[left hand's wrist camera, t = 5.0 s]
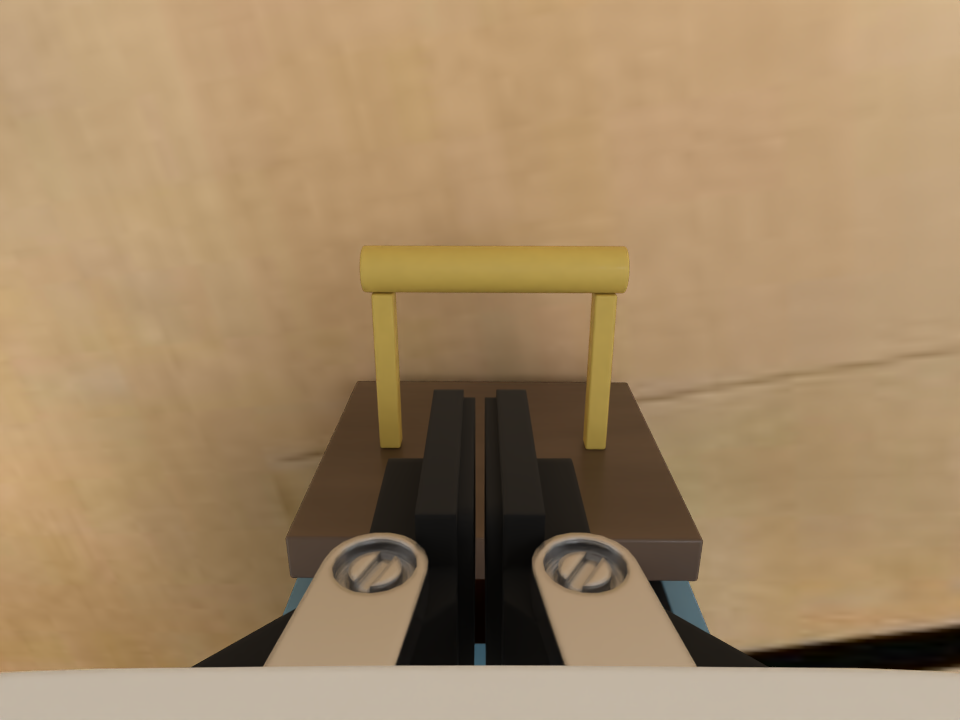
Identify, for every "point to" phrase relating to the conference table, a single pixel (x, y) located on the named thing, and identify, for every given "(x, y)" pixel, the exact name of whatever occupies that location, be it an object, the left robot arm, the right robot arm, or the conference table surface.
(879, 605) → the conference table surface
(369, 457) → the drawer
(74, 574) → the conference table surface
